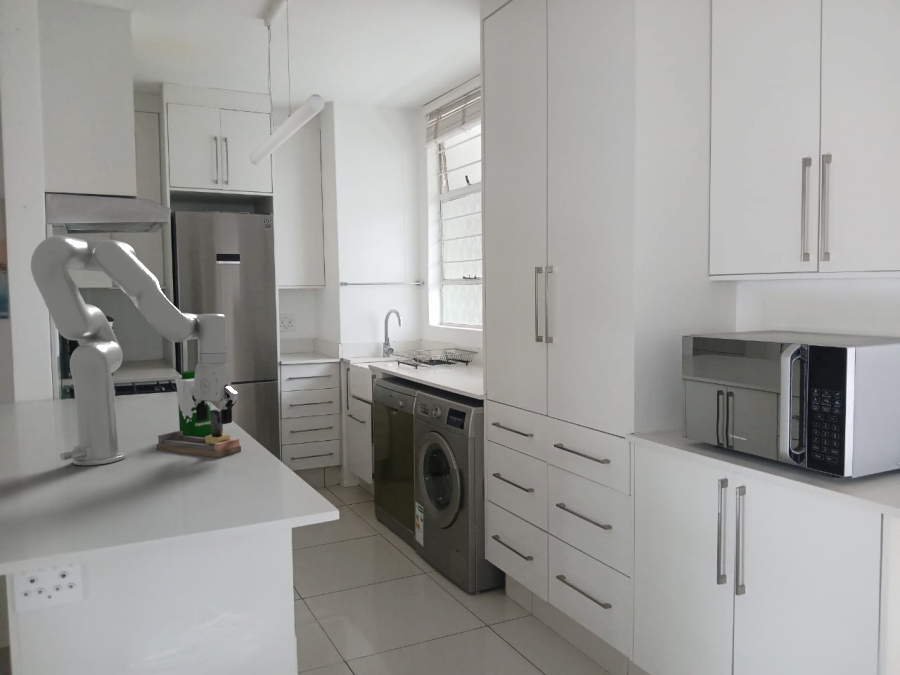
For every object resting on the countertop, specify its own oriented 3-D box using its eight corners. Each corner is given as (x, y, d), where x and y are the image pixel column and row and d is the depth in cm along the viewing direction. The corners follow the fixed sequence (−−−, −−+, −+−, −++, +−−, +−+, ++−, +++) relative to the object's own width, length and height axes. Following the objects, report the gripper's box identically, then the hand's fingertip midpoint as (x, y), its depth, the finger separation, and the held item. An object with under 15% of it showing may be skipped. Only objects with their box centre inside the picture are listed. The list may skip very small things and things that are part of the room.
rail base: (218, 457, 184) (217, 443, 184) (156, 449, 197) (155, 435, 196) (241, 451, 191) (240, 437, 191) (180, 443, 204) (179, 430, 203)
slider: (218, 448, 187) (216, 411, 186) (205, 447, 189) (203, 410, 189) (230, 445, 190) (228, 409, 190) (217, 444, 193) (215, 408, 192)
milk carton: (200, 432, 219) (197, 369, 218) (217, 435, 214) (214, 371, 212) (175, 437, 212) (171, 372, 211) (192, 440, 207) (188, 374, 206)
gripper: (179, 358, 189) (181, 421, 190) (224, 362, 181) (225, 427, 182) (201, 356, 196) (203, 416, 197) (246, 359, 187) (247, 422, 188)
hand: (214, 421), depth 189 cm, fingers open, 9 cm apart
